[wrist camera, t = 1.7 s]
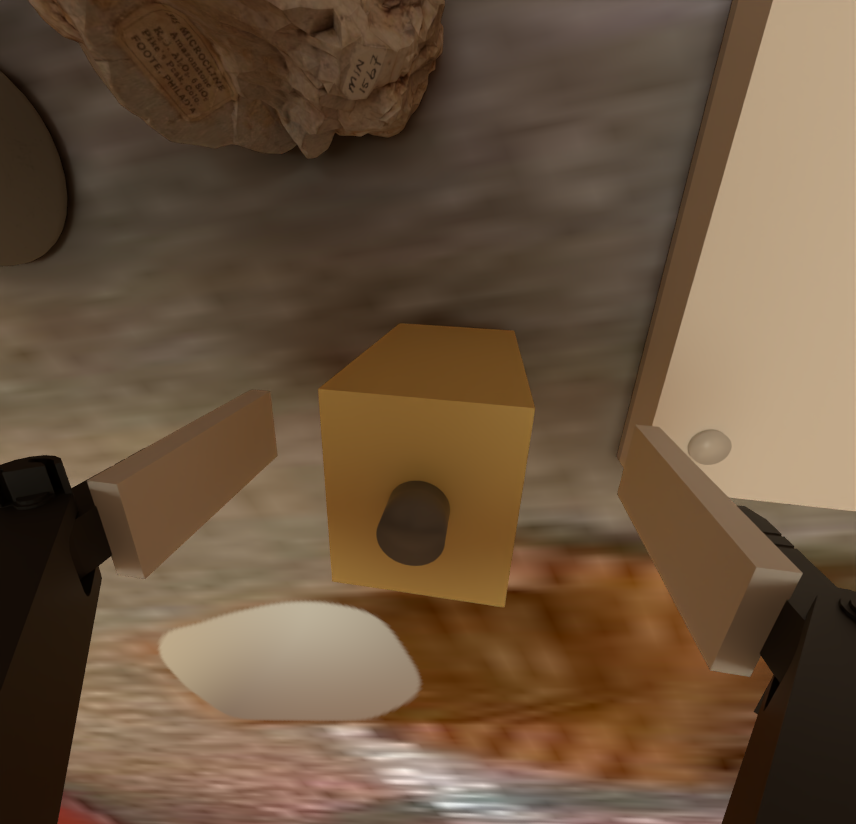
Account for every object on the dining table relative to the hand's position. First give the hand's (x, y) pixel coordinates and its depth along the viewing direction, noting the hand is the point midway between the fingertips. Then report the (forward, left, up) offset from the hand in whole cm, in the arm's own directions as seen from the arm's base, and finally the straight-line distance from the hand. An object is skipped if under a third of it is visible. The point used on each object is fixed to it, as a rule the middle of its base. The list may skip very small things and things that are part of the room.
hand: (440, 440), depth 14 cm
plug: (0, 0, -8) cm, 8 cm away
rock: (-13, -6, -8) cm, 17 cm away
